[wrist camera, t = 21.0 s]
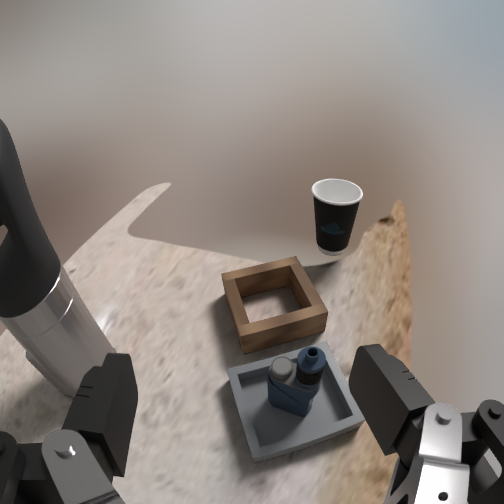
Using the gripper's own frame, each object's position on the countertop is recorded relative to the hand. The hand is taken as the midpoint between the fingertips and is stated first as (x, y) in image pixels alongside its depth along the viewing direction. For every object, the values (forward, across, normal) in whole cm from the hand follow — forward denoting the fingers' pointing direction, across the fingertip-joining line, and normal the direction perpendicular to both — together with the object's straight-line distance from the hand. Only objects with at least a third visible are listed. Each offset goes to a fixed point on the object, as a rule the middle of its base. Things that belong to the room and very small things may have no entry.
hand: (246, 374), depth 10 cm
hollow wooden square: (+29, -7, +14) cm, 33 cm away
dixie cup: (+40, -20, +8) cm, 45 cm away
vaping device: (+15, -7, +18) cm, 25 cm away
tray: (+16, -8, +19) cm, 26 cm away
